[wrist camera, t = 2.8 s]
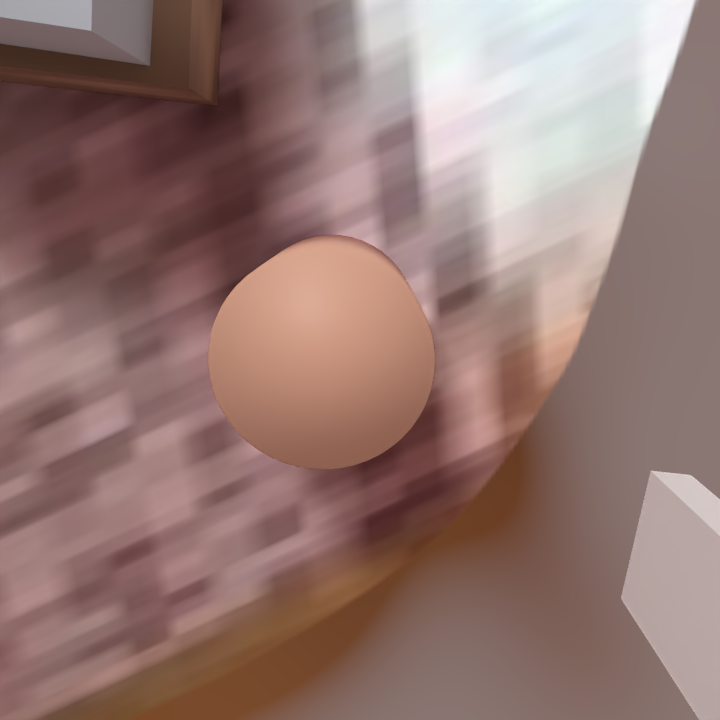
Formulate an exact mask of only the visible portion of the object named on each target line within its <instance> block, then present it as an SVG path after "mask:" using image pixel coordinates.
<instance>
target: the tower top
mask: <svg viewBox="0 0 720 720" xmlns="http://www.w3.org/2000/svg"><path fill="white" fill-rule="evenodd" d="M153 1H154V0H0V44H7V45H13V46H20V47H27V48H34V49H40V50H47V51H54V52H60V53H67V54H74V55H81V56H87V57H94V58H101V59H107V60H114V61H121V62H128V63H134V64H141V65H148V66H150V56H151V38H152V19H153Z"/></svg>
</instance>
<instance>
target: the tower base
mask: <svg viewBox="0 0 720 720" xmlns="http://www.w3.org/2000/svg"><path fill="white" fill-rule="evenodd" d="M222 4H223V0H154V1H153V19H152V38H151V56H150V66H148V65H141V64H134V63H128V62H121V61H114V60H107V59H101V58H94V57H87V56H81V55H74V54H67V53H60V52H54V51H47V50H40V49H34V48H27V47H20V46H13V45H7V44H0V81H2V82H11V83H20V84H29V85H37V86H46V87H55V88H64V89H73V90H82V91H90V92H99V93H108V94H117V95H126V96H135V97H143V98H152V99H161V100H170V101H179V102H187V103H196V104H205V105H214V106H218V86H219V66H220V45H221V25H222Z"/></svg>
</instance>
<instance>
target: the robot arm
mask: <svg viewBox="0 0 720 720" xmlns="http://www.w3.org/2000/svg"><path fill="white" fill-rule="evenodd" d="M621 599H622V601H623V602H624V604H625V606H626V607H627V609H628V610H629V612H630V613H631V615H632V616H633V618H634V620H635V621H636V622H637V624H638V626H639V627H640V629H641V630H642V632H643V634H644V635H645V637H646V638H647V640H648V641H649V643H650V644H651V646H652V648H653V649H654V651H655V652H656V654H657V655H658V657H659V658H660V660H661V661H662V663H663V665H664V666H665V668H666V669H667V671H668V672H669V674H670V675H671V677H672V678H673V680H674V682H675V683H676V685H677V686H678V688H679V689H680V691H681V693H682V694H683V696H684V697H685V699H686V700H687V702H688V703H689V705H690V707H691V708H692V710H693V711H694V713H695V714H696V716H697V717H698V719H699V720H720V499H718V498H717V497H716V496H715V495H714V494H712V493H711V492H710V491H709V490H708V489H706V488H705V487H704V486H703V485H701V483H699V482H698V481H697V480H696V479H695V478H693V477H692V476H691V475H685V474H675V473H665V472H656V471H651V472H650V477H649V481H648V485H647V489H646V493H645V498H644V502H643V506H642V511H641V515H640V520H639V524H638V528H637V533H636V536H635V541H634V545H633V549H632V553H631V558H630V562H629V566H628V571H627V575H626V579H625V583H624V588H623V592H622V597H621Z"/></svg>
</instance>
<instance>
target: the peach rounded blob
mask: <svg viewBox="0 0 720 720" xmlns="http://www.w3.org/2000/svg"><path fill="white" fill-rule="evenodd" d="M208 367H209V374H210V381H211V384H212V388H213V391H214V394H215V397H216V399H217V401H218V404H219V406H220V408H221V410H222V411H223V413H224V415H225V416H226V418H227V420H228V421H229V422H230V423H231V425H232V426H233V427H234V429H235V430H236V431H237V432H238V433H239V434H240V435H241V436H242V437H243V438H244V439H245V440H246V441H247V442H249V443H250V444H251V445H253V446H254V447H255V448H257V449H258V450H259V451H261V452H263V453H265V454H266V455H268V456H270V457H272V458H274V459H277V460H279V461H281V462H284V463H287V464H290V465H294V466H297V467H303V468H309V469H337V468H344V467H348V466H353V465H356V464H359V463H362V462H365V461H368V460H370V459H372V458H374V457H376V456H378V455H380V454H382V453H383V452H385V451H386V450H388V449H389V448H391V447H392V446H393V445H395V444H396V443H397V442H398V441H399V440H401V439H402V438H403V437H404V436H405V434H406V433H407V432H408V431H409V430H410V429H411V428H412V427H413V425H414V424H415V422H416V421H417V419H418V418H419V416H420V415H421V413H422V411H423V409H424V407H425V405H426V403H427V400H428V397H429V395H430V392H431V388H432V383H433V379H434V370H435V352H434V344H433V339H432V334H431V331H430V328H429V325H428V322H427V319H426V317H425V315H424V313H423V311H422V309H421V307H420V305H419V303H418V301H417V300H416V298H415V296H414V294H413V292H412V290H411V288H410V287H409V285H408V283H407V281H406V279H405V277H404V276H403V274H402V273H401V271H400V270H399V268H398V267H397V266H396V265H395V263H394V262H393V261H392V260H391V259H390V258H389V257H388V256H386V255H385V254H384V253H383V252H382V251H380V250H379V249H377V248H376V247H374V246H372V245H370V244H368V243H366V242H364V241H362V240H359V239H355V238H352V237H347V236H342V235H322V236H315V237H311V238H307V239H304V240H301V241H299V242H296V243H294V244H292V245H291V246H289V247H287V248H285V249H284V250H283V251H281V252H280V253H278V254H277V255H275V256H274V257H272V258H271V259H270V260H268V261H267V262H265V263H264V264H262V265H261V266H260V267H258V268H257V269H255V270H254V271H253V272H251V273H250V274H248V275H247V276H246V277H245V278H244V279H243V280H242V281H241V282H240V283H239V284H238V285H237V286H236V287H235V288H234V289H233V290H232V292H231V293H230V294H229V295H228V297H227V298H226V300H225V301H224V303H223V305H222V307H221V308H220V310H219V312H218V315H217V317H216V319H215V322H214V324H213V328H212V332H211V336H210V341H209V350H208Z"/></svg>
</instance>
